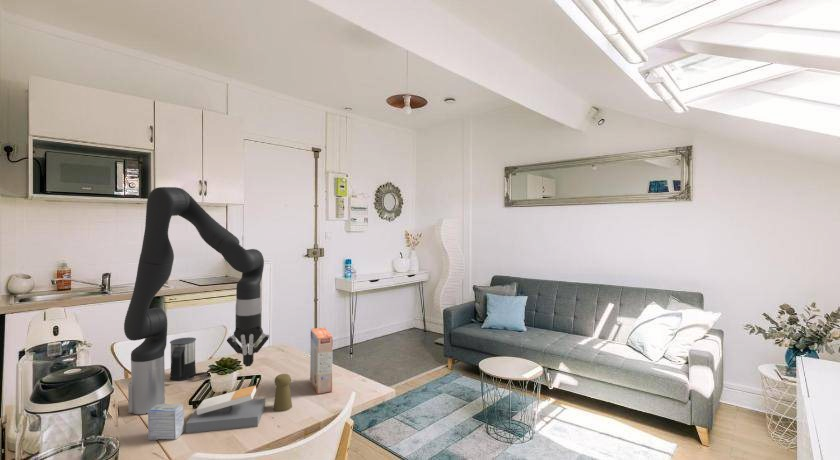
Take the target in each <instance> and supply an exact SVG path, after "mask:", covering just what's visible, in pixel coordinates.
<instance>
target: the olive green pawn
mask: <svg viewBox="0 0 840 460" xmlns="http://www.w3.org/2000/svg"><path fill="white" fill-rule="evenodd" d="M291 378H292V377H291V375H290V374H288V373H281V374H278V375H277V376H275V378H274V385H275V393H274V400H273V408H272V409H273V411H274V412H280V413H281V412H286V411H289V410H291V409H292V408H293V403H292V397H291V396H292V394H291V389H290V384H291V383H292V382H291V381H292V379H291Z"/></svg>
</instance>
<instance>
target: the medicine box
mask: <svg viewBox="0 0 840 460" xmlns="http://www.w3.org/2000/svg"><path fill="white" fill-rule="evenodd" d="M184 407H185V406H184V403H165V404H157V405H156V406H154V407H153V408H152V409H150V410H149V411H148V413H147V427H148V428H147V430H148V435H147V436H148V440H149V441H154V440H156V441H158V439H167V440H177V439H179V437H180V436H181V435H182V434H183V433H184V432H185V418H184V417H185V415H184V413H185V412H184Z"/></svg>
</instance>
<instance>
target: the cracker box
mask: <svg viewBox="0 0 840 460" xmlns="http://www.w3.org/2000/svg"><path fill="white" fill-rule="evenodd" d="M333 338H334V337H333V335H332V334H331V333H330V332H329V331H328V330H327V329H326V327H317V328H310V355H309V356H310V357H309V358H310V367H309V368H310V372H309V375H310V376H309V379H310V383H311V385H312V387H313V389H314V391H315V392H316V394H317V395H320V394H325V393H326V394H327V393H331V392H333V350H334V349H333V346H334V345H333Z"/></svg>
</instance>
